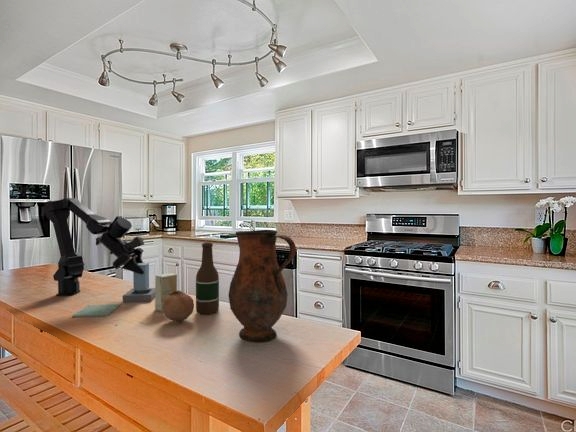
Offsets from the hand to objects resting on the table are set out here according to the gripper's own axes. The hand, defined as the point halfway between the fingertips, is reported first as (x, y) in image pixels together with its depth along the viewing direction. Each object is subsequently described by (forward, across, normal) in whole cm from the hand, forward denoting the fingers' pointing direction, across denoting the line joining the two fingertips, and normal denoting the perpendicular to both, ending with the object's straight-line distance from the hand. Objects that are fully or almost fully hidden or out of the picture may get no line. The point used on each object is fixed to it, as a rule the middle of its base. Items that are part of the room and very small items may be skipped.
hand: (145, 272), depth 127 cm
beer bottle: (+26, -20, -12) cm, 35 cm away
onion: (+20, -29, -6) cm, 36 cm away
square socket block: (+6, 0, +8) cm, 10 cm away
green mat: (-1, -15, +15) cm, 21 cm away
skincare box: (+16, -15, -1) cm, 22 cm away
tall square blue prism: (+4, 0, +6) cm, 7 cm away
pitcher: (+39, -44, -24) cm, 64 cm away
